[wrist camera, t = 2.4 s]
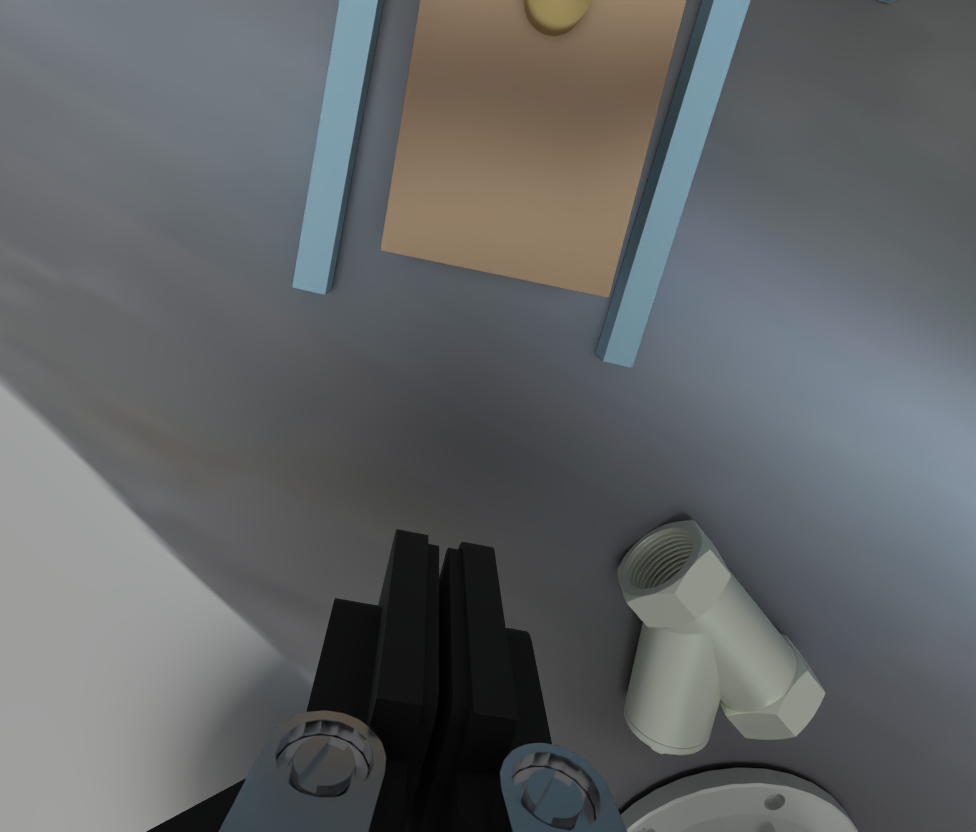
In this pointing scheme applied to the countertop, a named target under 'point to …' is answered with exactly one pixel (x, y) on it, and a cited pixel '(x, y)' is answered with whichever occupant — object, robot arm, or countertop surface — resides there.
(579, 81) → the housing
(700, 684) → the pipe fitting
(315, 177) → the press
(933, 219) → the countertop surface
